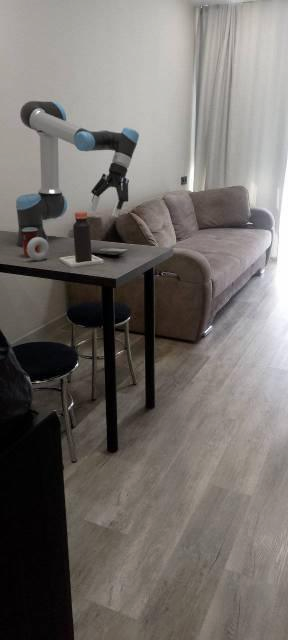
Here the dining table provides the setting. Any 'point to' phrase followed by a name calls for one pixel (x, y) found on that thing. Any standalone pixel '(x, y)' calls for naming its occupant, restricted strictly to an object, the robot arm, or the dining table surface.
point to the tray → (73, 264)
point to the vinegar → (82, 238)
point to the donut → (33, 244)
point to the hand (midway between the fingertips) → (103, 213)
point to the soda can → (29, 238)
